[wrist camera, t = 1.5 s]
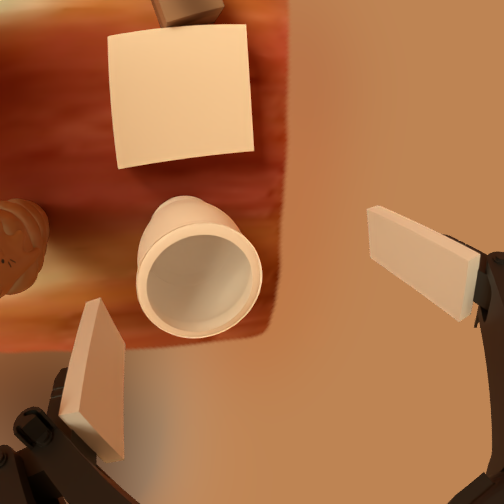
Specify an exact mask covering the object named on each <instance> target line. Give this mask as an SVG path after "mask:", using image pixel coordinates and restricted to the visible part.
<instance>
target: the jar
mask: <svg viewBox="0 0 504 504" xmlns="http://www.w3.org/2000/svg"><path fill="white" fill-rule="evenodd" d="M137 263H138V270H137V275H136V291H137V297H138V300H139V303H140V306H141V308H142V310H143V312H144V313H145V315H146V316H147V317H148V318H149V320H150V321H151V322H152V323H153V324H155V325H156V326H157V327H158V328H160V329H162V330H163V331H165V332H167V333H169V334H172V335H175V336H179V337H184V338H204V337H209V336H213V335H216V334H219V333H221V332H224V331H226V330H228V329H229V328H231V327H233V326H234V325H236V324H237V323H238V322H239V321H241V320H242V319H243V318H244V317H245V316H246V315H247V313H248V312H249V311H250V310H251V308H252V307H253V305H254V304H255V302H256V300H257V298H258V295H259V292H260V289H261V284H262V266H261V262H260V259H259V256H258V254H257V252H256V250H255V248H254V247H253V245H252V244H251V243H250V241H249V240H248V239H247V238H246V237H245V236H244V235H242V233H241V232H240V230H239V228H238V227H237V225H236V224H235V223H234V221H233V220H232V219H231V218H230V217H229V216H228V215H227V214H225V213H224V212H223V211H221V210H220V209H218V208H217V207H215V206H213V205H211V204H208V203H206V202H204V201H203V200H201V199H199V198H196V197H193V196H177V197H174V198H171V199H169V200H167V201H166V202H164V203H163V204H162V205H160V206H159V207H158V209H157V210H156V211H155V213H154V214H153V216H152V218H151V221H150V222H149V224H148V225H147V227H146V229H145V230H144V233H143V235H142V237H141V240H140V244H139V249H138V258H137Z"/></svg>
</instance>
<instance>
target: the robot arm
mask: <svg viewBox="0 0 504 504" xmlns="http://www.w3.org/2000/svg"><path fill="white" fill-rule="evenodd" d="M367 219H368V231H369V247H370V258H371V259H373V260H374V261H376V262H377V263H378V264H380V265H381V266H383V267H384V268H386V269H387V270H389V271H390V272H391V273H393V274H394V275H396V276H397V277H399V278H400V279H401V280H403V281H404V282H406V283H407V284H408V285H410V286H411V287H413V288H414V289H415V290H417V291H418V292H419V293H421V294H423V295H424V296H425V297H427V298H428V299H429V300H430V301H432V302H433V303H435V304H436V305H437V306H438V307H440V308H441V309H443V310H444V311H445V312H447V313H448V314H449V315H451V316H452V317H453V318H454V319H456V320H457V321H458V322H460V321H461V320H463V319H464V318H466V317H467V316H468V315H470V314H471V309H472V305H473V301H474V302H475V303H477V304H478V305H479V306H478V311H477V316H476V320H475V325H474V327H475V328H476V327H477V324H478V322H480V328H481V333H482V339H483V345H484V350H485V358H486V364H487V373H488V381H489V390H490V403H491V419H492V455H491V459H490V462H489V465H488V468H487V472H486V474H485V473H482V474H481V475H480V476H479V477H477V478H476V479H475V480H474V481H473V482H472V483H470V484H469V485H468V486H467V487H465V488H464V489H463V490H462V491H460V492H459V493H458V494H456V495H455V496H454V497H453V498H452V499H451V500H450V502H449V503H448V504H504V252H492V253H490V254H489V255H486V254H484V253H482V252H481V251H479V250H477V249H475V248H473V247H471V246H469V245H467V244H466V245H465V243H463V242H461V241H458V240H457V239H455V238H453V237H451V236H448V235H444V234H440V233H438V232H436V231H434V230H432V229H430V228H427V227H426V226H423V225H421V224H419V223H417V222H415V221H413V220H411V219H408V218H406V217H404V216H402V215H399V214H397V213H395V212H393V211H391V210H388V209H386V208H384V207H382V206H379V205H378V206H375V207H371V208H368V209H367ZM124 362H125V343H124V341H123V339H122V337H121V335H120V334H119V332H118V330H117V328H116V326H115V324H114V322H113V321H112V319H111V317H110V315H109V313H108V311H107V309H106V307H105V305H104V303H103V301H102V299H101V297H100V298H97V299H94V300H91V301H88V302H86V304H85V308H84V311H83V314H82V318H81V321H80V325H79V328H78V332H77V336H76V339H75V343H74V347H73V351H72V355H71V359H70V363H69V367H67V368H63V369H61V370H60V372H59V374H58V375H57V377H56V378H55V381H54V385H53V391H52V393H51V399H50V402H49V406H48V411H47V415H46V414H45V412H43V410H42V409H40V408H39V407H30V408H27V409H26V410H24V411H23V412H21V414H20V415H19V416H18V417H17V419H16V420H15V423H14V427H13V431H14V435H15V436H16V437H17V438H18V439H19V440H20V441H22V442H23V443H24V444H25V445H26V446H27V447H26V448H24V449H22V450H20V451H18V452H15V451H14V450H13V449H12V448H11V447H9V446H8V445H1V446H0V504H66V502H65V500H64V498H65V499H66V501H67V502H68V503H69V504H140V503H138V502H137V501H136V500H135V499H134V498H133V497H131V496H130V495H129V494H128V493H127V492H126V491H124V490H123V489H122V488H121V487H120V486H119V485H118V484H117V483H116V482H115V481H114V480H112V479H111V478H110V477H109V476H108V475H107V474H106V473H105V472H104V471H103V470H102V469H101V468H100V467H99V466H98V465H97V464H96V455H97V456H98V457H99V458H101V459H102V460H103V461H104V462H105V463H109V462H115V461H121V460H124V433H123V397H124V396H123V394H124V393H123V392H124ZM63 497H64V498H63Z"/></svg>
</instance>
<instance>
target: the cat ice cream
mask: <svg viewBox="0 0 504 504" xmlns="http://www.w3.org/2000/svg"><path fill="white" fill-rule="evenodd" d="M49 233H50V228H49V221H48V217H47V215H46V213H45V211H44V210H43V209H42V208H41V207H40V206H39V205H37V204H36V203H34V202H32V201H30V200H24V199H19V198H14V199H10V200H7V201H0V298H1V297H3V296H4V295H5V294H7V295H12V294H17V293H20V292H22V291H25V290H26V289H28V288H29V287H31V286H32V285H33V283H34V282H35V280H36V278H37V275H38V273H39V272H40V270H41V268H42V266H43V262H44V256H45V253H46V247H47V242H48V238H49Z"/></svg>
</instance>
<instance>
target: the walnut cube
mask: <svg viewBox="0 0 504 504" xmlns="http://www.w3.org/2000/svg"><path fill="white" fill-rule="evenodd" d="M151 2H152V4H153V7H154V10H155V13H156V15H157V18H158V21H159V24H160V27H161V28H169V27H180V26H194V25H207V24H211V23H214V22H215V20H216V19H217V17H218V16H219V14H220V13H221V11H222V10H223V8H224V7H225V6H224V3H223V1H222V0H151Z"/></svg>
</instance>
